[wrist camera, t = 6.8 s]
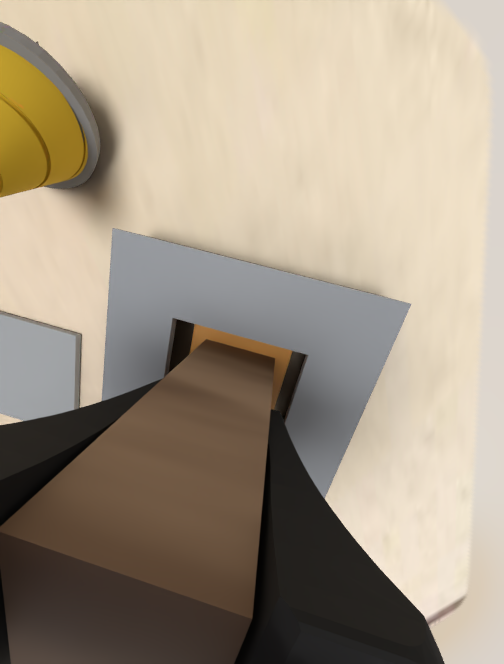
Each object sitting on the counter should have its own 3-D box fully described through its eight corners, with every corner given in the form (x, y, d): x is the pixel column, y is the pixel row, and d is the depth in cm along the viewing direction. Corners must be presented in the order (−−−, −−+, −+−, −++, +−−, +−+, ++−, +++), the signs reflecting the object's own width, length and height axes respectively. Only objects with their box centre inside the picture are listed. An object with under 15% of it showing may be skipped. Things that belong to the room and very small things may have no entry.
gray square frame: (306, 480, 16) (311, 526, 13) (129, 426, 17) (97, 458, 14) (381, 296, 12) (411, 304, 9) (150, 237, 13) (112, 227, 10)
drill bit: (118, 73, 12) (70, 174, 7) (101, 173, 15) (61, 290, 10) (-46, -46, 9) (-373, -32, 4) (-20, 114, 12) (-164, 237, 7)
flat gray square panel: (78, 432, 17) (73, 436, 17) (-18, 403, 18) (-24, 405, 18) (81, 334, 15) (75, 335, 15) (-28, 303, 16) (-36, 303, 15)
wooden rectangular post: (257, 417, 14) (202, 741, 4) (194, 399, 14) (11, 668, 5) (275, 358, 13) (252, 618, 3) (206, 338, 13) (-4, 530, 3)
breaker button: (268, 422, 15) (267, 431, 14) (185, 398, 15) (180, 405, 14) (293, 342, 13) (293, 347, 13) (200, 317, 14) (195, 320, 13)
